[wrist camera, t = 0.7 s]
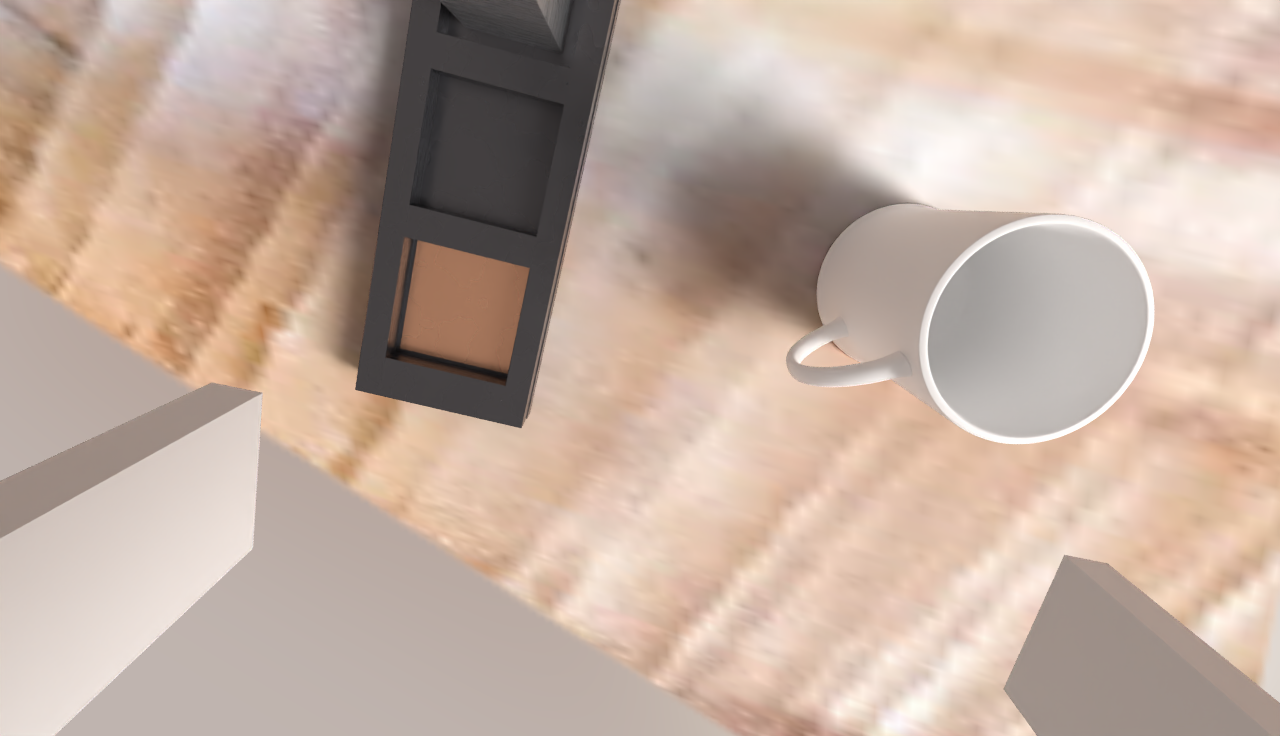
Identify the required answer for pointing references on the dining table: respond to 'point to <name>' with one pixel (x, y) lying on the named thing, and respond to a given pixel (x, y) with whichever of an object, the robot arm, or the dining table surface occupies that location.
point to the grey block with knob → (517, 19)
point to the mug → (984, 316)
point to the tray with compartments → (479, 210)
